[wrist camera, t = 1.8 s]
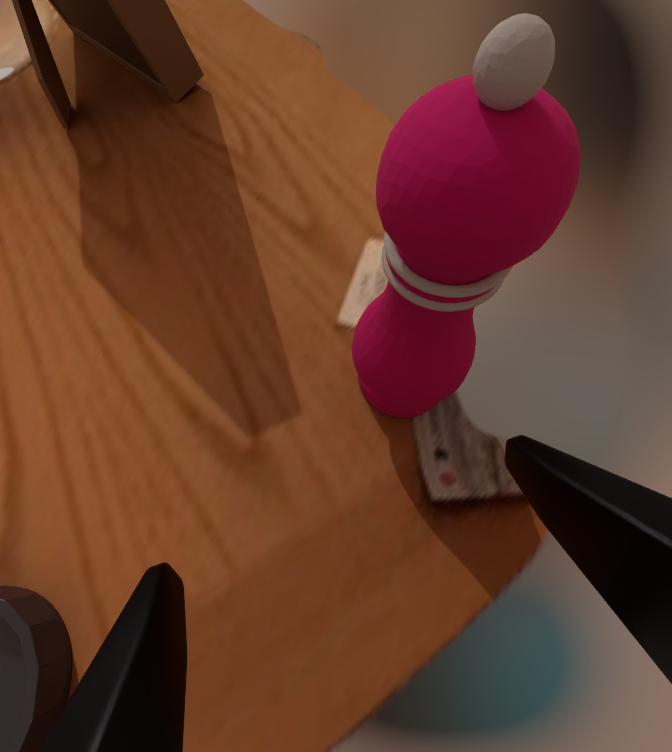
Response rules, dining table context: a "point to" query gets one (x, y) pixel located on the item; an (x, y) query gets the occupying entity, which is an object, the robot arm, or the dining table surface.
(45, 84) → the photo frame
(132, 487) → the dining table surface
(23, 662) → the tray
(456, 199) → the pepper mill
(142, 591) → the robot arm
